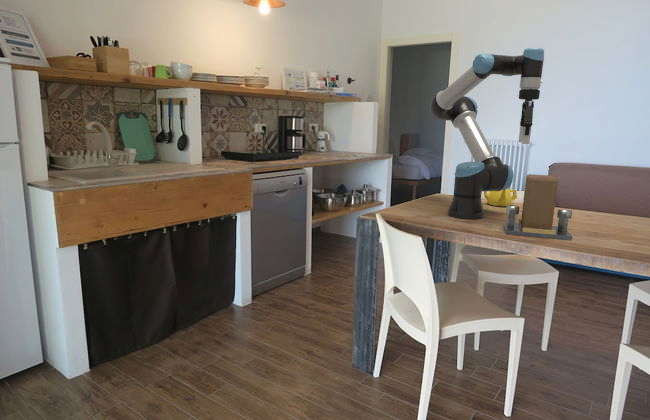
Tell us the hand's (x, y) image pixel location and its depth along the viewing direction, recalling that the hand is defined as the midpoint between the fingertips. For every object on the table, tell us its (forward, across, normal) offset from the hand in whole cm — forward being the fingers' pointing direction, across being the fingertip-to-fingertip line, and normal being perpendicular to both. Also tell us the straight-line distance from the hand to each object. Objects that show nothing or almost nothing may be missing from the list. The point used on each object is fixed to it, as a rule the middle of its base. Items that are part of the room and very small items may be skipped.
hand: (523, 143), depth 186 cm
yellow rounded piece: (+33, +37, +5) cm, 50 cm away
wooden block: (+31, -17, -6) cm, 36 cm away
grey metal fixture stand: (+33, -17, -6) cm, 37 cm away
